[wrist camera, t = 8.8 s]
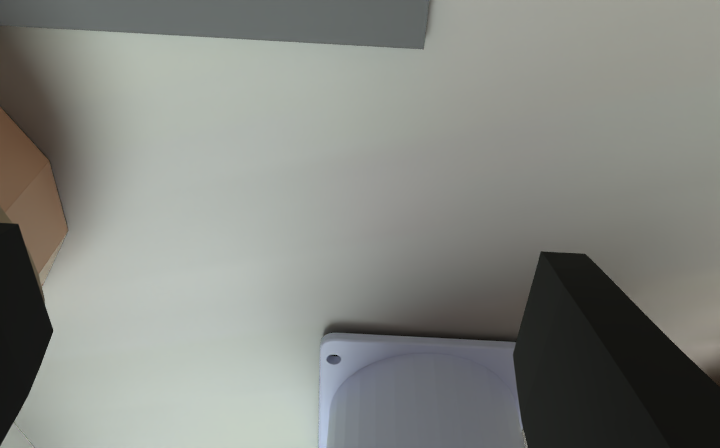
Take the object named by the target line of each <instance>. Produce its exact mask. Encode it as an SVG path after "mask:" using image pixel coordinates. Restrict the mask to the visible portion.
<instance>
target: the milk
mask: <svg viewBox="0 0 720 448" xmlns="http://www.w3.org/2000/svg"><path fill="white" fill-rule="evenodd" d="M0 448H34V446H33V445H32V444H31V443H30V442H29V440H28V439H27V438H26V437H25V435H24V434H23V433H22V432H21V431H20V429H19V428H18V427H17V426H16V424H15V423H14V422H13V424H12V426H11V428H10V430H9V431H8V433H7V435H6V437H5V439H4V440H3V442H2V444H1V446H0Z"/></svg>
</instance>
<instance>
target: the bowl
mask: <svg viewBox="0 0 720 448" xmlns="http://www.w3.org/2000/svg"><path fill="white" fill-rule="evenodd" d="M0 207H1V208H2V209H3V211H4V212H5V213H6V215H7V216H8V218H9V219H10V220H11V222H12V223H15V224H19V227H20V230H21V233H22V236H23V239H24V242H25V245H26V247H27V248H28V250H29V252H30V255H31V257H32V260H33V262H34V265H35V267H36V269H37V272H38V274H39V278H40V282H41V286H42V285H43V283H44V282H45V280H46V277H47V275H48V273H49V271H50V269H51V267H52V264H53V262H54V260H55V258H56V256H57V254H58V252H59V249H60V247H61V245H62V243H63V241H64V239H65V236H66V234H67V232H68V228H67V224H66V221H65V217H64V213H63V210H62V206H61V202H60V199H59V195H58V191H57V188H56V184H55V180H54V177H53V173H52V169H51V166H50V162H49V160H48V159H47V158H46V157H45V156H44V155H43V153H42V152H41V151H40V150H39V149H38V148H37V147H36V146H35V145H34V144H33V142H32V141H31V140H30V139H29V138H28V137H27V136H26V135H25V134H24V132H23V131H22V130H21V129H20V128H19V127H18V126H17V125H16V124H15V122H14V121H13V120H12V119H11V118H10V117H9V116H8V115H7V114H6V113H5V111H4V110H3V109H2V108H1V107H0Z"/></svg>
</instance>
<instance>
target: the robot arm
mask: <svg viewBox="0 0 720 448" xmlns="http://www.w3.org/2000/svg"><path fill="white" fill-rule="evenodd" d="M52 333H53V328H52V325H51V322H50V319H49V316H48V313H47V310H46V307H45V304H44V301H43V298H42V295H41V292H40V288H39V285H38V282H37V279H36V276H35V273H34V270H33V267H32V264H31V261H30V258H29V255H28V252H27V249H26V246H25V242H24V239H23V236H22V233H21V230H20V227H19V224H15V223H0V446H1V444H2V442H3V440H4V439H5V437H6V435H7V433H8V431H9V430H10V428H11V426H12V424H13V422H14V420H15V419H16V417H17V415H18V413H19V411H20V410H21V408H22V406H23V404H24V402H25V400H26V398H27V397H28V394H29V392H30V390H31V387H32V385H33V382H34V380H35V378H36V375H37V373H38V370H39V368H40V365H41V363H42V360H43V357H44V355H45V352H46V349H47V347H48V344H49V341H50V339H51V336H52ZM333 354H335V355H338V356H330V355H333ZM522 429H524V433H525V437H526V441H527V445H528V448H720V387H719V386H718V385H717V384H716V383H715V382H714V381H713V380H712V379H711V378H710V377H708V376H707V375H706V374H705V373H704V372H703V371H702V370H701V369H700V368H699V367H698V366H697V365H696V364H695V363H694V362H693V361H692V360H691V359H690V358H689V357H687V356H686V355H685V354H684V353H683V352H682V351H681V350H680V349H679V348H678V347H677V346H676V345H675V344H674V343H673V342H672V341H671V340H670V339H669V338H668V337H667V336H666V335H665V334H664V333H663V332H662V331H661V330H660V329H659V328H658V327H657V326H656V325H655V324H654V323H653V322H652V321H651V320H650V319H649V318H648V317H647V316H646V315H645V314H644V313H643V312H642V311H641V310H640V309H639V308H638V307H637V306H636V305H635V304H634V303H633V302H632V301H631V300H630V298H629V297H628V296H627V295H626V294H625V293H624V292H623V291H622V290H621V289H620V288H619V287H618V286H617V285H616V284H615V283H614V282H613V281H612V280H611V279H610V278H609V277H608V276H607V275H606V274H605V273H604V272H603V271H602V270H601V269H600V268H599V267H598V266H597V265H596V264H595V263H594V262H593V261H592V260H591V259H590V258H589V257H588V256H587V255H586V254H576V253H558V252H541V253H540V257H539V261H538V264H537V268H536V272H535V275H534V279H533V283H532V286H531V290H530V294H529V297H528V301H527V304H526V308H525V312H524V315H523V319H522V323H521V326H520V330H519V334H518V337H517V341H516V342H506V341H486V340H467V339H448V338H429V337H409V336H390V335H371V334H352V333H329V334H326V335H324V336H323V337H322V339H321V344H320V379H319V435H318V448H525V444H524V440H523V435H522Z"/></svg>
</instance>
